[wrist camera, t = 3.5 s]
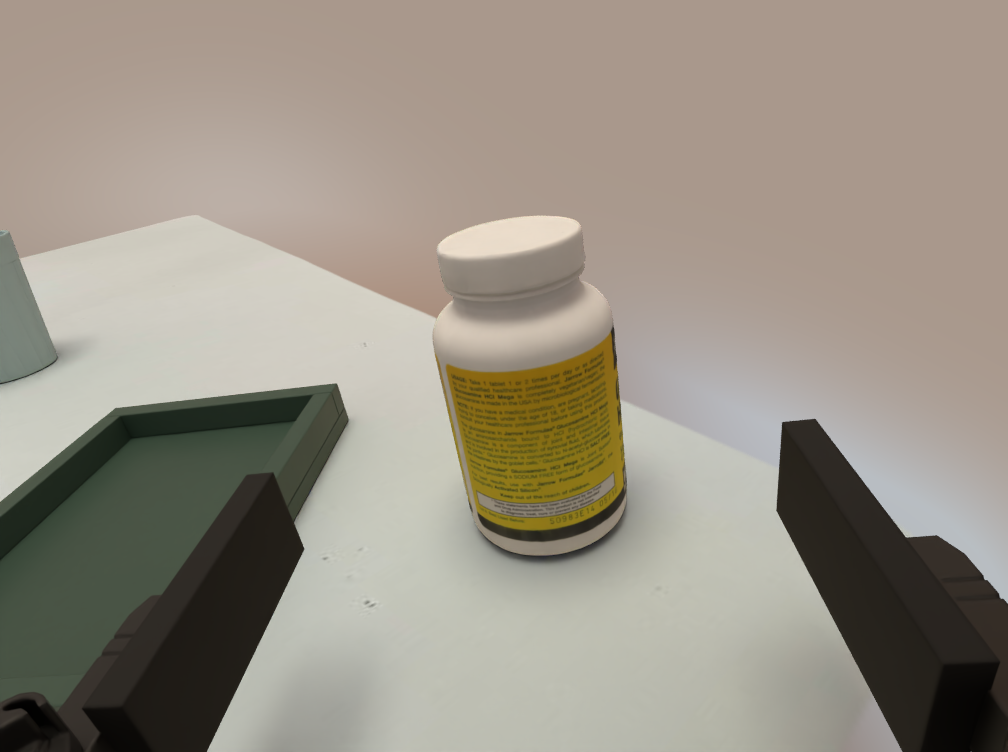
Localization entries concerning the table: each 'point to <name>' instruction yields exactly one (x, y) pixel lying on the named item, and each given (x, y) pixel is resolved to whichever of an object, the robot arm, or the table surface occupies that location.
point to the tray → (137, 517)
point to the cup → (20, 320)
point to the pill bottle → (531, 385)
